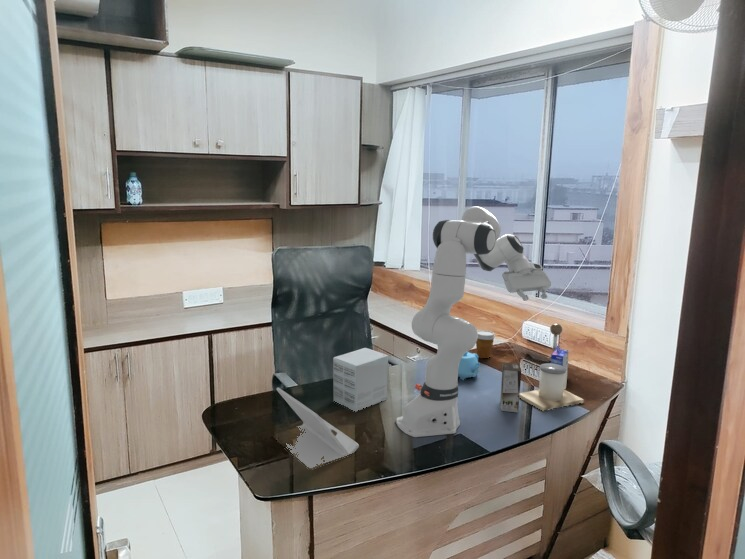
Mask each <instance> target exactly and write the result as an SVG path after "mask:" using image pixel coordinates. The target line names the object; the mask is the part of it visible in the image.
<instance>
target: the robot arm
mask: <svg viewBox="0 0 745 559" xmlns="http://www.w3.org/2000/svg"><path fill="white" fill-rule="evenodd" d="M501 228H502V227H501V225H500V223H499V221H498V219H497V218H496V217H495V216H494V215H493V214H492V213H491V212H490V211H488V210H487V209H485V208H483V207H481V206H471V207H469V208H467V209H466V210H464V212H463V214H462V217H461V220H459V219H458V220H450V219H443V220H440V221H438V222H437V223H436V225H435V226H434V227H433V232H432V240H433V243H434V246H435V248H436V252H435V255H434V256H435V257H434V259H433V265H432V273H431V275H432V276H431V283H430V290H429V295H428V298H427V301H426V303H425V305H424V306H423V308H422V309H420V310H419V311H417V313H415V314H414V316H413V318H412V319H411V320H412V321H411V330H412V332H413V333H414V335H415V336H417V337H418V338H419V339H421V340H423V341H426V342H428V343H429V344H432V345H433V344H434V345H437V352H436V354H434V355H432V356H431V357H429V358H428V359H427V361H426V362H425V378H424V379H425V380H424V383H423V385H421V384H420V383H416V384H415V385H414V388H415V390H417V391H419V394H418V395H417V396H415V397H414V398H413V399H412V400H410V401H409V402H408V403H407V404H406V405H405V406H404V408H403V411H402V416H398V417H396V419H395V420H396V421H395V422H396V426H397V427H398V428H399V429H400V430H401V431H402V432H403V433H404V434H406V435H408V436H410V437H413V438H421V437H432V436H441V435H442V436H443V435H452V434H456V433H457V429H458V428H459V427H460V426H461V420H460V416H459V409H458V396H459V383H458V379H459V376H458V369H459V363H460V360H461V358H462V356H463V355H464V354H465V353H466V352H470V350H472V349H473V348H474V347H475V346H476V342H477V338H478V333H477V331H478V330H477V327H476V326H475V324H473V323H471V322H470V321H468V320H466V319H464V318H462V317H459V316H454V315H451V314H450V313H451V309H452V308H453V306H454V305H455V304H457V303H459V302H460V301H461V300H462V299H463V298H464V295H465V294H464V293H465V285H466V275H467V254H468V255H473V256H474V257H475V259H476V262H477V265H478V266H479V268H481V269H482V270H483V271H485V272H492V271H493V270H495V269H497V268H498V267H499V266H501V265H504V263H505V264H506V265H507V269H508V271H504V272H503V273H502V275H501V277H502V279H503V281H504V285H505V289H506V291H507V292H508V293H510V294H514V293H516V294H517V295H518V296H519V297H520V298H522V300H523V301H526V302H527V301H528V300H529V295H528V294H525V293H526V292H536V291H537V292H538V291H540V293H541V295H540V298H541V299H543V300H545V299H547V298H548V294H547V290H548V289H549V288H550V287H551V286H552V281H551V279H550V277H549V276H548V274H547V273H546V272H545V270H543V265H541V264H539V263H534V262H532V261H530V260H529V259H528V258H527V257H526V256H525V251H524V246H523V243H522V242H521V240H520V239H519V237H517V236H516V235H514V234H512V233H511V234H510V233H506V234H504V235H502V236H501V237H500V235H501V231H502V230H501Z"/></svg>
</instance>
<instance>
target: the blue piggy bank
mask: <svg viewBox="0 0 745 559" xmlns="http://www.w3.org/2000/svg"><path fill="white" fill-rule="evenodd" d="M480 367H481V363H480V362H479V357H478V355H477V353H472V352H470V351H468V352H466V353H465V354H464V355H463V356H462V358H461V360H460V363H459V369H458V378H459V380H460V379H465V380H466V379H467V378H471V377H475V378H476V376H477V375H479V373H480Z"/></svg>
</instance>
